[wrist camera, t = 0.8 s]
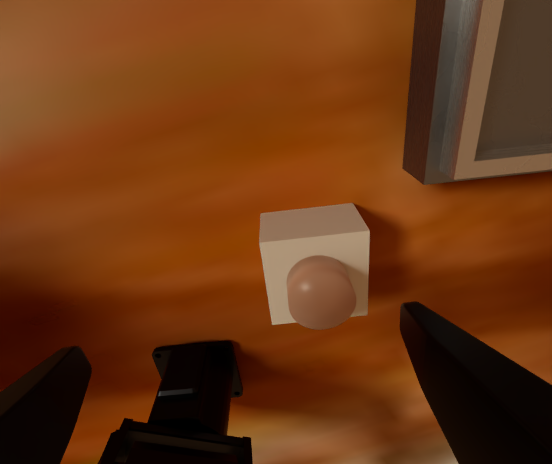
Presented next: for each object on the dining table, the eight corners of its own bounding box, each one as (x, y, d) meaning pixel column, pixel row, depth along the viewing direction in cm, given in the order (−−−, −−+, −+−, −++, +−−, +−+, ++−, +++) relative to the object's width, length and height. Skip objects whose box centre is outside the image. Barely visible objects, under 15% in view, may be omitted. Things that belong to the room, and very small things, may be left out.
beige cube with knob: (352, 277, 23) (377, 339, 18) (271, 285, 24) (272, 349, 18) (352, 202, 21) (381, 249, 15) (260, 212, 21) (258, 262, 16)
